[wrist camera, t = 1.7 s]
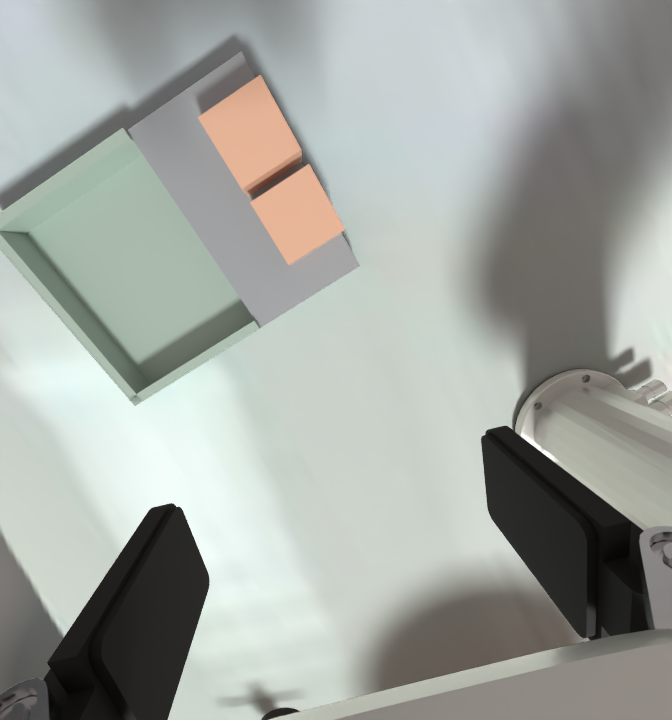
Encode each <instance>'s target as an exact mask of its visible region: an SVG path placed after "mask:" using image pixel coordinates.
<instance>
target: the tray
mask: <svg viewBox="0 0 672 720" xmlns="http://www.w3.org/2000/svg"><path fill="white" fill-rule="evenodd" d="M0 250H1V251H2V252H3V253H4V255H5V256H6V257H7V258H8V259H9V260H10V262H11V263H12V264H13V265H14V266H15V267H16V268H17V270H18V271H19V272H20V273H21V274H22V275H23V277H24V278H25V279H26V280H27V281H28V282H29V284H30V285H31V286H32V287H33V288H34V289H35V291H36V292H37V293H38V294H39V295H40V296H41V297H42V299H43V300H44V301H45V302H46V303H47V304H48V306H49V307H50V308H51V309H52V310H53V311H54V313H55V314H56V315H57V316H58V317H59V318H60V320H61V321H62V322H63V323H64V324H65V325H66V326H67V328H68V329H69V330H70V331H71V332H72V333H73V335H74V336H75V337H76V338H77V339H78V340H79V342H80V343H81V344H82V345H83V346H84V347H85V349H86V350H87V351H88V352H89V353H90V354H91V355H92V357H93V358H94V359H95V360H96V361H97V362H98V364H99V365H100V366H101V367H102V368H103V369H104V371H105V372H106V373H107V374H108V375H109V376H110V378H111V379H112V380H113V381H114V382H115V383H116V384H117V386H118V387H119V388H120V389H121V390H122V391H123V393H124V394H125V395H126V396H127V397H128V398H129V400H130V401H131V402H132V403H133V404H134V405H135V406H136V405H137V404H139V403H140V402H142V401H144V400H145V399H147V398H149V397H150V396H152V395H153V394H155V393H157V392H158V391H160V390H161V389H163V388H165V387H166V386H168V385H170V384H171V383H173V382H174V381H176V380H178V379H179V378H181V377H182V376H184V375H186V374H187V373H189V372H190V371H192V370H194V369H195V368H197V367H199V366H200V365H202V364H203V363H205V362H207V361H208V360H210V359H211V358H213V357H215V356H216V355H218V354H219V353H221V352H223V351H224V350H226V349H228V348H229V347H231V346H232V345H234V344H236V343H237V342H239V341H240V340H242V339H244V338H245V337H247V336H248V335H250V334H252V333H253V332H255V331H257V330H258V329H260V326H259V325H258V323H257V322H256V321H255V319H254V318H253V316H252V315H251V313H250V312H249V310H248V309H247V307H246V306H245V304H244V303H243V301H242V300H241V298H240V297H239V295H238V294H237V293H236V291H235V290H234V288H233V287H232V285H231V284H230V282H229V281H228V279H227V278H226V276H225V275H224V273H223V272H222V270H221V269H220V267H219V266H218V265H217V263H216V262H215V260H214V259H213V257H212V256H211V254H210V253H209V251H208V250H207V248H206V247H205V245H204V244H203V242H202V241H201V240H200V238H199V237H198V235H197V234H196V232H195V231H194V229H193V228H192V226H191V225H190V223H189V222H188V220H187V219H186V217H185V216H184V214H183V213H182V212H181V210H180V209H179V207H178V206H177V204H176V203H175V201H174V200H173V198H172V197H171V195H170V194H169V192H168V191H167V189H166V188H165V186H164V185H163V184H162V182H161V181H160V179H159V178H158V176H157V175H156V173H155V172H154V170H153V169H152V167H151V166H150V164H149V163H148V161H147V160H146V159H145V157H144V156H143V154H142V153H141V151H140V150H139V148H138V147H137V145H136V144H135V142H134V141H133V139H132V138H131V136H130V135H129V133H128V132H127V131H126V130H125V129H124V128H121V129H120V130H118V131H117V132H115V133H114V134H113V135H111V136H110V137H108V138H107V139H105V140H104V141H102V142H101V143H100V144H98V145H97V146H95V147H94V148H92V149H91V150H89V151H88V152H87V153H85V154H84V155H82V156H81V157H79V158H78V159H76V160H75V161H74V162H72V163H71V164H69V165H68V166H66V167H65V168H63V169H62V170H61V171H59V172H58V173H56V174H55V175H53V176H52V177H51V178H49V179H48V180H46V181H45V182H43V183H42V184H40V185H39V186H38V187H36V188H35V189H33V190H32V191H30V192H29V193H27V194H26V195H25V196H23V197H22V198H20V199H19V200H17V201H16V202H14V203H13V204H12V205H10V206H9V207H7V208H6V209H4V210H3V211H1V212H0Z"/></svg>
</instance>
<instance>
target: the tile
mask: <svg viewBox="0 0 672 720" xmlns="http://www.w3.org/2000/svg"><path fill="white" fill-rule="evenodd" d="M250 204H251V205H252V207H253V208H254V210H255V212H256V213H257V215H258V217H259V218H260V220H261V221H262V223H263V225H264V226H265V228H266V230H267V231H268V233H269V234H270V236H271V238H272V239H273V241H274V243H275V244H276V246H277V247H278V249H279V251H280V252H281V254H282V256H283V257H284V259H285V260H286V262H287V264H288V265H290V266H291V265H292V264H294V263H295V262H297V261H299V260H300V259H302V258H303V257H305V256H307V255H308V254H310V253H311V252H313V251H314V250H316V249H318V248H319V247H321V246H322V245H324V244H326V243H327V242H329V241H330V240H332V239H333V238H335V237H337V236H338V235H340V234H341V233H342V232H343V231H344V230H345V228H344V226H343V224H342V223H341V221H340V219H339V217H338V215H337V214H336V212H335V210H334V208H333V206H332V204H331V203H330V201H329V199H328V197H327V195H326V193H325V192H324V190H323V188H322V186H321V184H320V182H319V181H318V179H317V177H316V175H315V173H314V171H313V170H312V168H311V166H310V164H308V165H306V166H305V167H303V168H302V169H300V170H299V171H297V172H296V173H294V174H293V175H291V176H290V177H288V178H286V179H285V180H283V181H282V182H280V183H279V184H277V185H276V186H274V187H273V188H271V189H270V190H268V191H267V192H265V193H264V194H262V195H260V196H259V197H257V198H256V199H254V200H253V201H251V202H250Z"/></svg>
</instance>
